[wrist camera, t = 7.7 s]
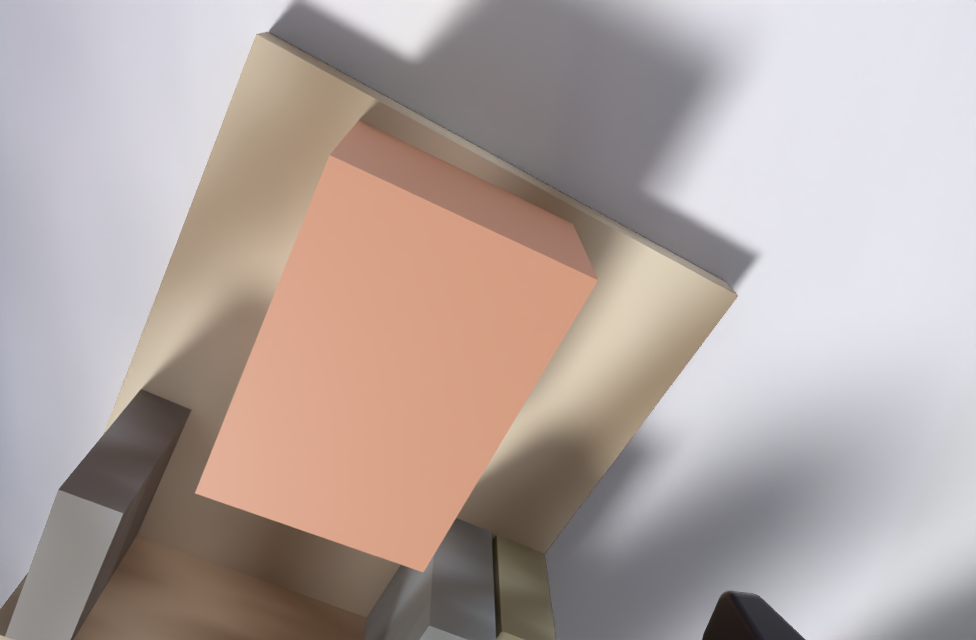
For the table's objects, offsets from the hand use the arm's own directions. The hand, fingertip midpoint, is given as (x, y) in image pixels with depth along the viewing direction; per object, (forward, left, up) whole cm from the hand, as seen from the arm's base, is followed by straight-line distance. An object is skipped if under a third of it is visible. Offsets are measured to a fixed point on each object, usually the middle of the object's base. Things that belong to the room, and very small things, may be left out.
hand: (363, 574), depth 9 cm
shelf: (-1, +5, -12) cm, 14 cm away
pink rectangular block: (0, +2, -11) cm, 11 cm away
